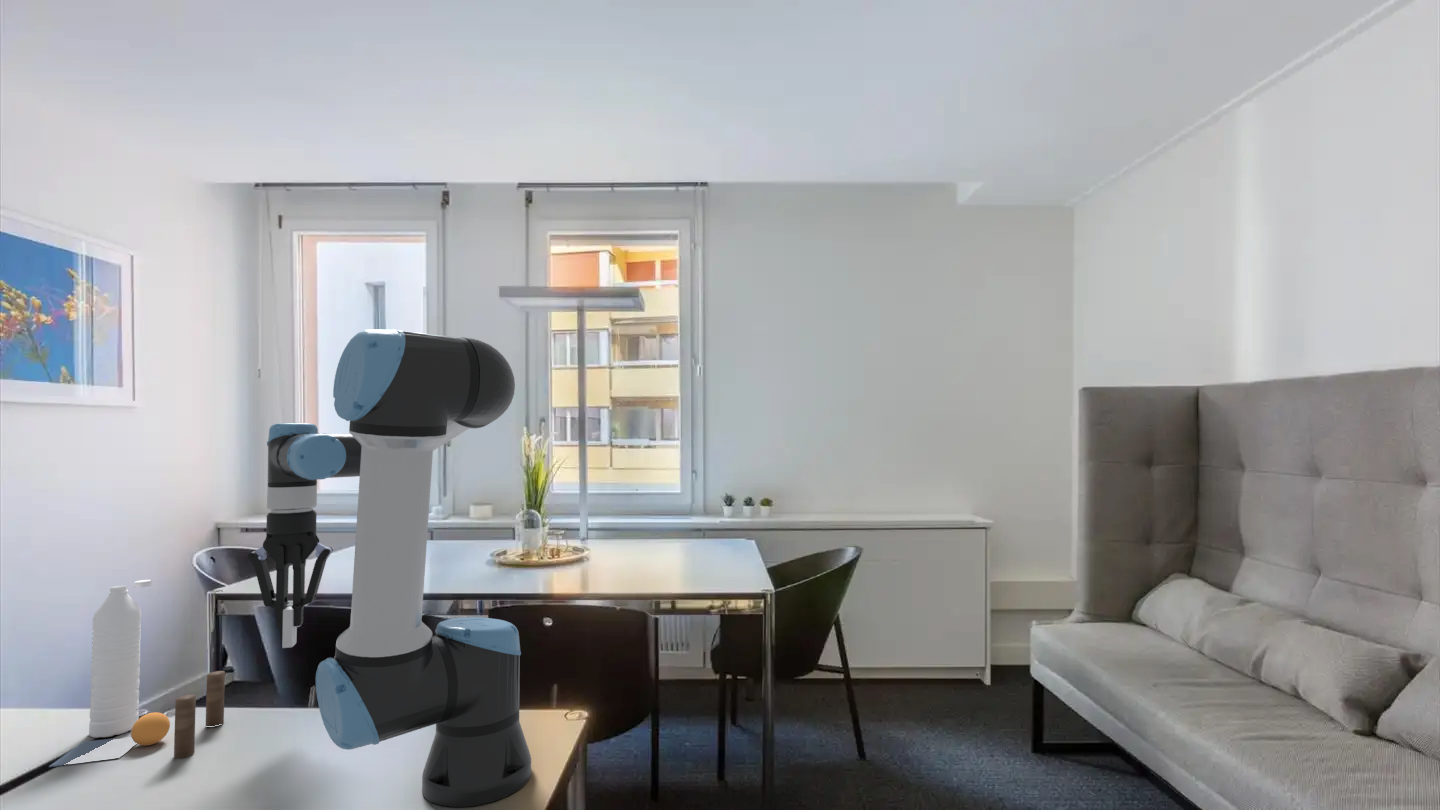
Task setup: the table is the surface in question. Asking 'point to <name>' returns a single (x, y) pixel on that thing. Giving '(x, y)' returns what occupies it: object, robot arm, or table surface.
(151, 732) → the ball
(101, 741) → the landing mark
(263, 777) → the table surface
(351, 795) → the table surface
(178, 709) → the near post
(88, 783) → the table surface
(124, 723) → the water bottle
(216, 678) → the far post
